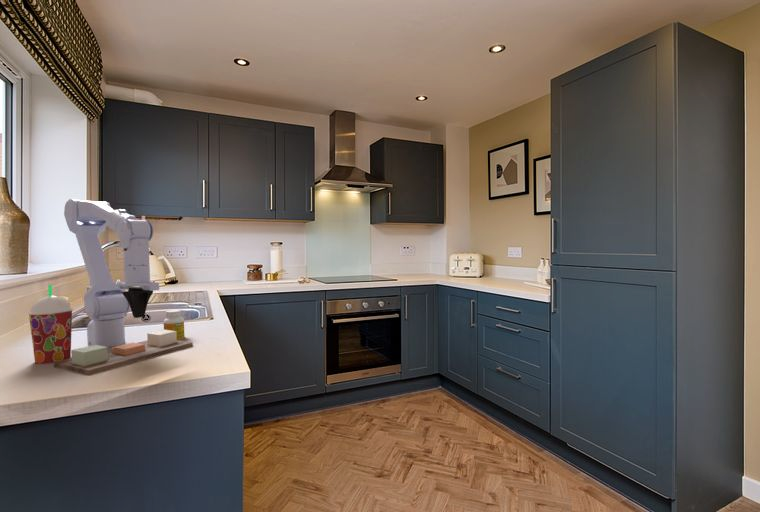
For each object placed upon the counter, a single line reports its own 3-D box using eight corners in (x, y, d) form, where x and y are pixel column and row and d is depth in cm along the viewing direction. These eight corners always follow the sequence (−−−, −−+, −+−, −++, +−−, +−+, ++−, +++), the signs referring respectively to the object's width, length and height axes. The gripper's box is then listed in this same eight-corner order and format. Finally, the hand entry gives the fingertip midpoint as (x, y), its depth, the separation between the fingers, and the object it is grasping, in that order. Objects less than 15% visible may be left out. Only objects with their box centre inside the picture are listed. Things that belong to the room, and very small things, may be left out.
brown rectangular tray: (54, 373, 92) (53, 362, 92) (159, 346, 116) (159, 337, 115) (88, 381, 86) (88, 370, 86) (192, 351, 109) (192, 342, 109)
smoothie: (74, 358, 104) (71, 282, 103) (75, 366, 97) (71, 284, 97) (31, 365, 99) (28, 284, 98) (29, 373, 92) (25, 287, 92)
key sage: (72, 367, 92) (71, 350, 91) (95, 361, 96) (95, 344, 96) (84, 370, 89) (83, 352, 89) (108, 363, 94) (107, 347, 94)
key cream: (147, 348, 108) (147, 333, 108) (164, 343, 112) (164, 329, 112) (159, 350, 105) (159, 335, 105) (176, 345, 110) (176, 331, 110)
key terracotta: (113, 363, 100) (112, 347, 100) (133, 357, 104) (132, 342, 104) (125, 365, 97) (124, 349, 97) (145, 359, 102) (144, 344, 102)
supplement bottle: (176, 346, 116) (175, 312, 115) (159, 345, 117) (158, 312, 116) (188, 341, 121) (187, 309, 120) (173, 340, 122) (172, 309, 122)
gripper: (104, 266, 104) (106, 318, 104) (139, 266, 98) (141, 321, 98) (131, 264, 110) (133, 313, 111) (165, 264, 104) (167, 316, 104)
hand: (139, 317), depth 105 cm, fingers closed
